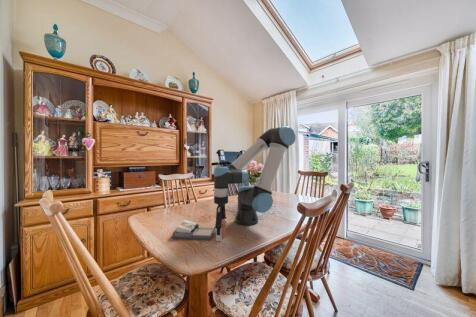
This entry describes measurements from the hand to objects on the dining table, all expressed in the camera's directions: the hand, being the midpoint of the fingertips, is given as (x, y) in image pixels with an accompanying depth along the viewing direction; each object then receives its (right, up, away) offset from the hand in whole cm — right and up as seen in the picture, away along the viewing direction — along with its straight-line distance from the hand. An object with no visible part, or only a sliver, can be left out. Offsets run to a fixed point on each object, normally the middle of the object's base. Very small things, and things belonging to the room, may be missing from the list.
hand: (220, 235), depth 108 cm
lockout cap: (0, 0, 0) cm, 0 cm away
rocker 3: (-19, +3, +2) cm, 19 cm away
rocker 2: (-19, +3, +6) cm, 20 cm away
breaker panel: (-14, 0, +2) cm, 14 cm away
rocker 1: (-19, +2, -2) cm, 20 cm away
